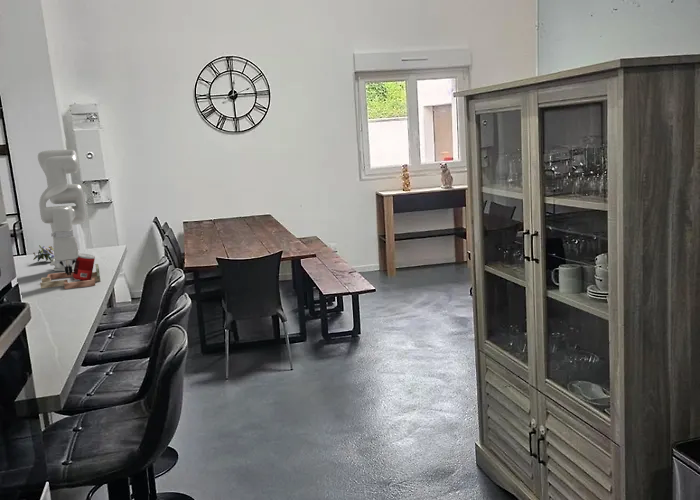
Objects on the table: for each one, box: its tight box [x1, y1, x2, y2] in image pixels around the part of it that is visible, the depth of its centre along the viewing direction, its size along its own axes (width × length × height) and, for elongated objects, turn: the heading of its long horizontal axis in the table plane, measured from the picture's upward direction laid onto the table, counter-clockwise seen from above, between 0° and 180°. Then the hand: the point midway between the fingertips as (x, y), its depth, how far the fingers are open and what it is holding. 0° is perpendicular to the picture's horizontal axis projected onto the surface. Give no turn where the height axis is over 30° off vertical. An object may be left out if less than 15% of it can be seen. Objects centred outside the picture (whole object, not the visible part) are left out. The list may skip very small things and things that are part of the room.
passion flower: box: [32, 245, 55, 262], centre depth 350 cm, size 11×11×12 cm
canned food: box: [72, 253, 96, 281], centre depth 295 cm, size 8×8×11 cm
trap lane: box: [39, 263, 101, 290], centre depth 293 cm, size 25×29×6 cm
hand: (69, 274), depth 293 cm, fingers closed
